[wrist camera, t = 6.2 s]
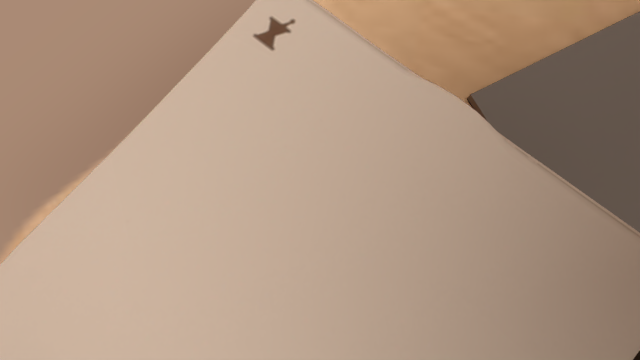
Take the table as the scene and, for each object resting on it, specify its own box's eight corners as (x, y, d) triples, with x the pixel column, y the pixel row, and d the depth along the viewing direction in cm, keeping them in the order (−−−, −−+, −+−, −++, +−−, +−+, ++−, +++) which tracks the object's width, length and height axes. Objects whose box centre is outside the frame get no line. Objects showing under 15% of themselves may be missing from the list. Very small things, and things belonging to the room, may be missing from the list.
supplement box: (224, 272, 21) (-78, 310, 6) (326, 158, 22) (274, -47, 7) (344, 390, 19) (317, 847, 4) (450, 260, 20) (726, 269, 5)
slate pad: (657, 5, 22) (665, -2, 21) (817, 193, 19) (832, 191, 18) (467, 99, 22) (470, 94, 21) (598, 303, 19) (606, 305, 18)
